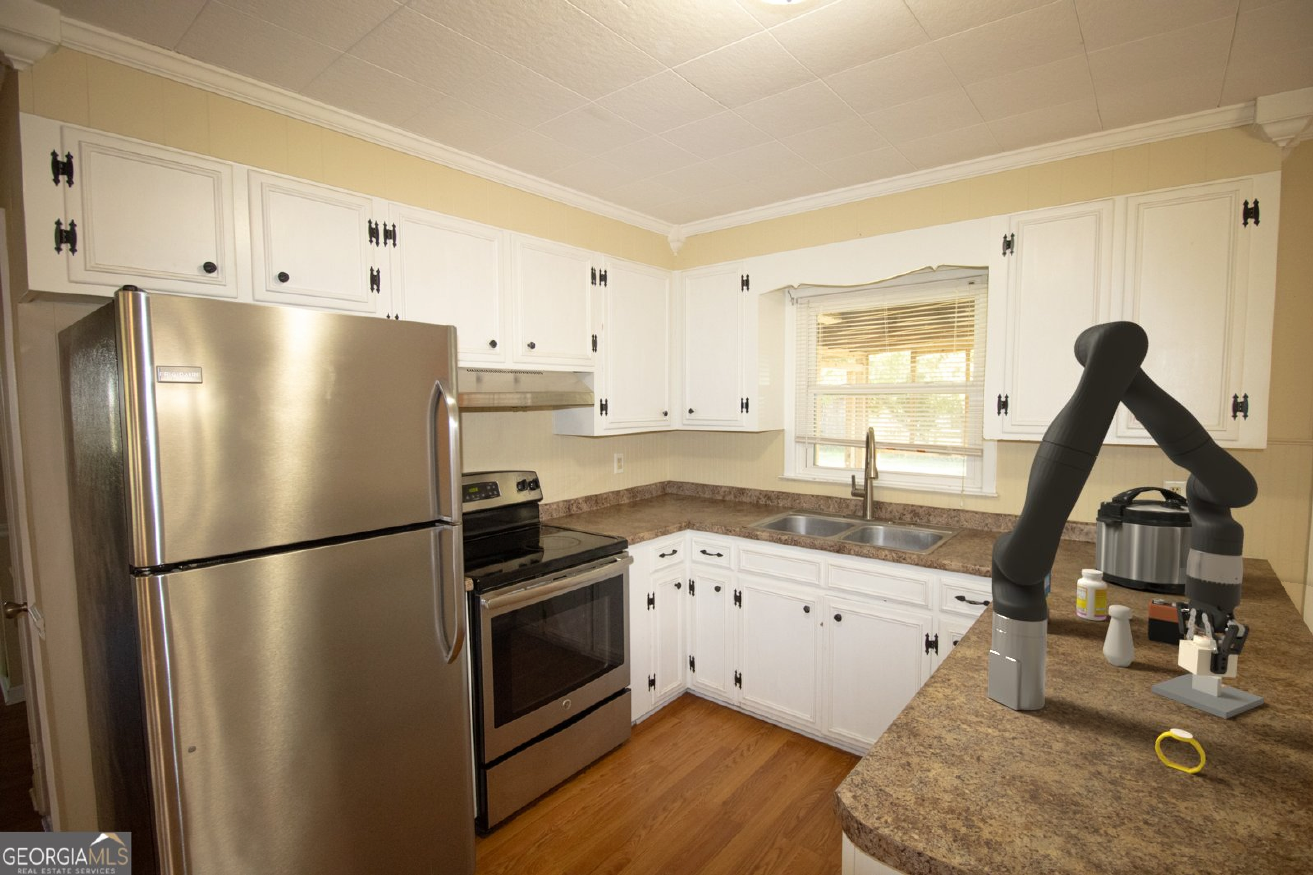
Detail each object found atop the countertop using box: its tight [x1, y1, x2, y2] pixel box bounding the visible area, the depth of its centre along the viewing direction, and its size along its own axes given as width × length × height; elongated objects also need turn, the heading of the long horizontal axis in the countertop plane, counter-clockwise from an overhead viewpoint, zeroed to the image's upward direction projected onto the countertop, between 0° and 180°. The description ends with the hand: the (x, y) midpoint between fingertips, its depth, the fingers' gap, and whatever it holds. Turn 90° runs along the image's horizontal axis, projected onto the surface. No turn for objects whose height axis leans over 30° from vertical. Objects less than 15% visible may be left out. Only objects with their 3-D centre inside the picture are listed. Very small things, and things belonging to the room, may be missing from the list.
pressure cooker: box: [1094, 486, 1192, 594], centre depth 199 cm, size 30×28×32 cm
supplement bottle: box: [1076, 568, 1108, 622], centre depth 167 cm, size 7×7×13 cm
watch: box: [1154, 728, 1206, 775], centre depth 98 cm, size 6×3×6 cm, turn 41°
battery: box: [1147, 597, 1185, 646], centre depth 150 cm, size 4×7×10 cm, turn 48°
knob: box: [1177, 632, 1239, 679], centre depth 112 cm, size 4×7×6 cm
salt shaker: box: [1102, 604, 1136, 668], centre depth 137 cm, size 6×6×13 cm
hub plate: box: [1150, 672, 1265, 720], centre depth 121 cm, size 14×12×5 cm
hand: (1206, 666), depth 112 cm, fingers closed on knob, 4 cm apart
